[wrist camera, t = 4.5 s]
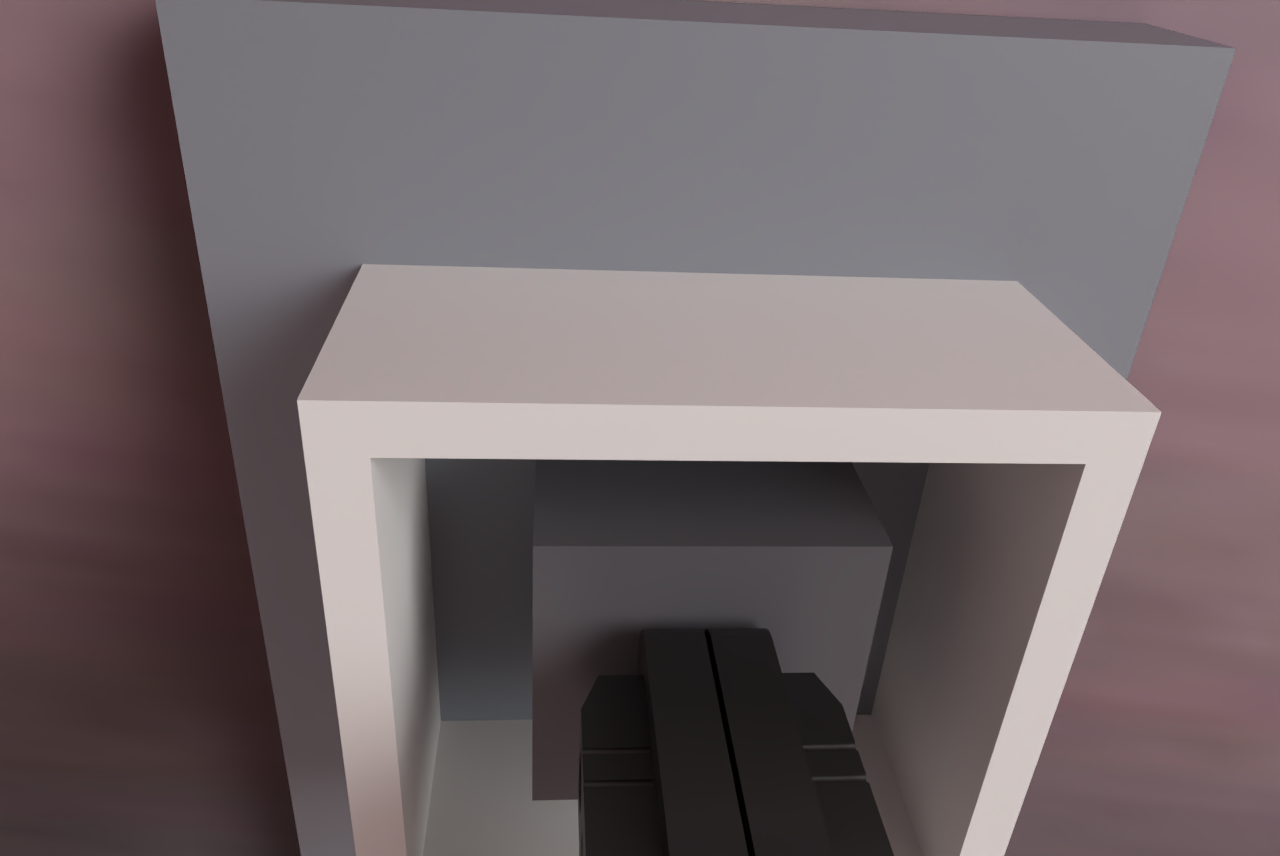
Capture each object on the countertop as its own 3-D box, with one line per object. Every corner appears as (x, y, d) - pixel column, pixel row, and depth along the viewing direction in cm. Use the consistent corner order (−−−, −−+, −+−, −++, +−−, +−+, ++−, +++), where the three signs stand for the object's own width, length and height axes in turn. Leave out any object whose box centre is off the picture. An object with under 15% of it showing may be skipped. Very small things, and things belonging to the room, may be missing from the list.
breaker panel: (1146, 23, 13) (1480, 114, 8) (855, 1045, 25) (926, 1325, 20) (211, -24, 12) (-12, 50, 7) (368, 1067, 24) (321, 1368, 19)
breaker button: (847, 454, 13) (892, 547, 11) (805, 684, 15) (838, 793, 13) (536, 451, 12) (533, 546, 11) (535, 687, 14) (532, 800, 13)
